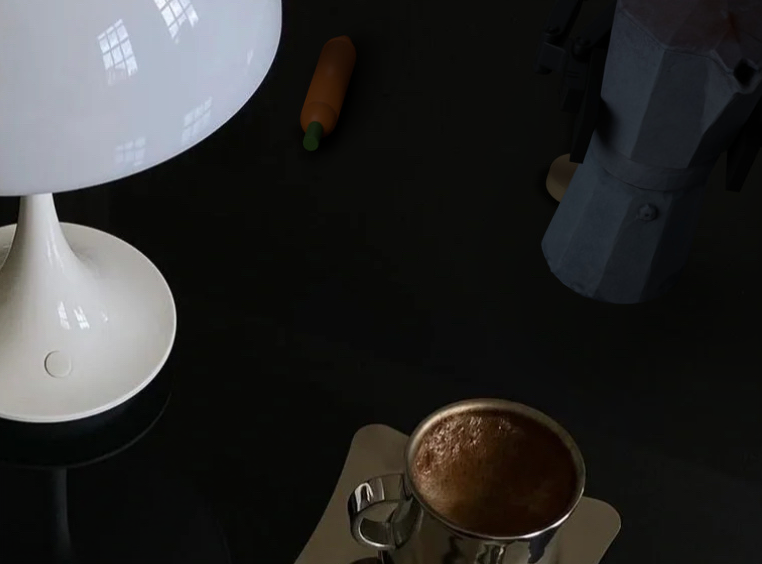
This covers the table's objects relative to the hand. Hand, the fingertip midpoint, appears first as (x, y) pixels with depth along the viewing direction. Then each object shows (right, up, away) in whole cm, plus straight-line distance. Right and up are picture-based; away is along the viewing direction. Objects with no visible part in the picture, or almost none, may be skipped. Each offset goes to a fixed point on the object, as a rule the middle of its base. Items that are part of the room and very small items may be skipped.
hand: (662, 155), depth 71 cm
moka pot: (+1, -1, +12) cm, 12 cm away
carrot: (-14, +17, +32) cm, 39 cm away
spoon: (+5, +13, +30) cm, 33 cm away
